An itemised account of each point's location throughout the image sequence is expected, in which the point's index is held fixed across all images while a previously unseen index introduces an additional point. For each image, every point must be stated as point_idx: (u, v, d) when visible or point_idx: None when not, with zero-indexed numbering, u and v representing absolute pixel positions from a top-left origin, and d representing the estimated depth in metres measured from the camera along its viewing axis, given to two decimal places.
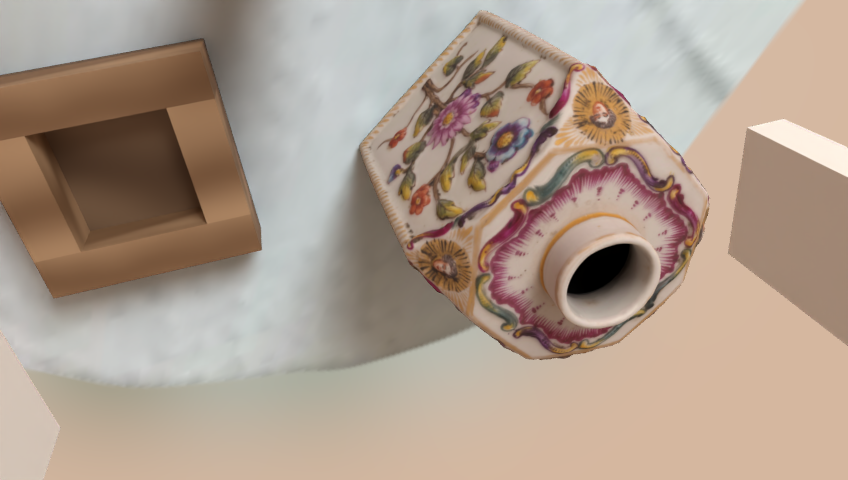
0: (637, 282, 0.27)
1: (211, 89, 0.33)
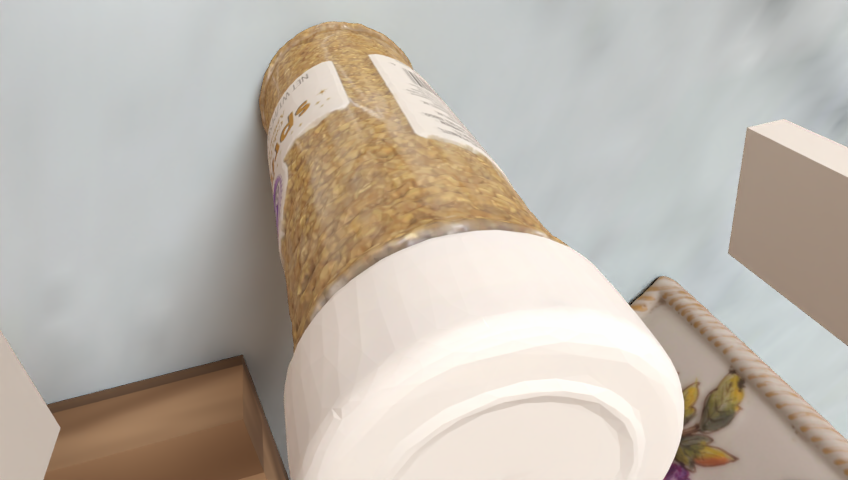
0: None
1: (259, 461, 0.20)
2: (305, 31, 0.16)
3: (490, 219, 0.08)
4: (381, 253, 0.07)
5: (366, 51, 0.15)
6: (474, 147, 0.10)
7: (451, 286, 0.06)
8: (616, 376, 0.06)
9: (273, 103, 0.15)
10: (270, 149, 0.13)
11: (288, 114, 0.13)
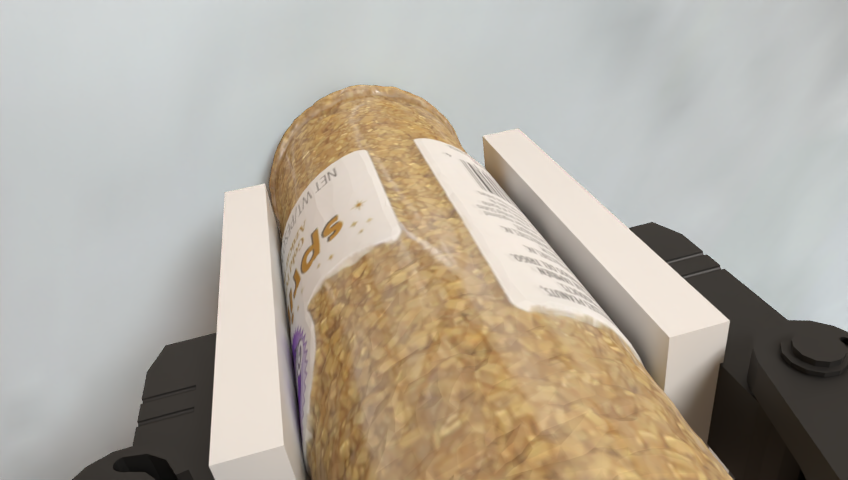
0: None
1: None
2: (327, 98, 0.13)
3: None
4: None
5: (409, 132, 0.11)
6: (594, 315, 0.07)
7: None
8: None
9: (288, 197, 0.12)
10: (286, 270, 0.10)
11: (311, 230, 0.09)
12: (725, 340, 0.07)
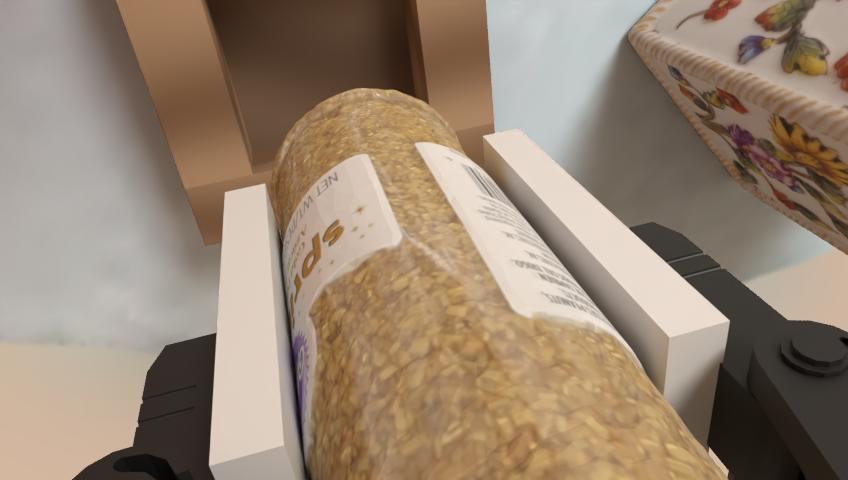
0: None
1: None
2: (328, 101, 0.13)
3: None
4: None
5: (410, 135, 0.11)
6: (595, 322, 0.07)
7: None
8: None
9: (289, 200, 0.12)
10: (287, 274, 0.10)
11: (313, 235, 0.09)
12: (725, 340, 0.07)
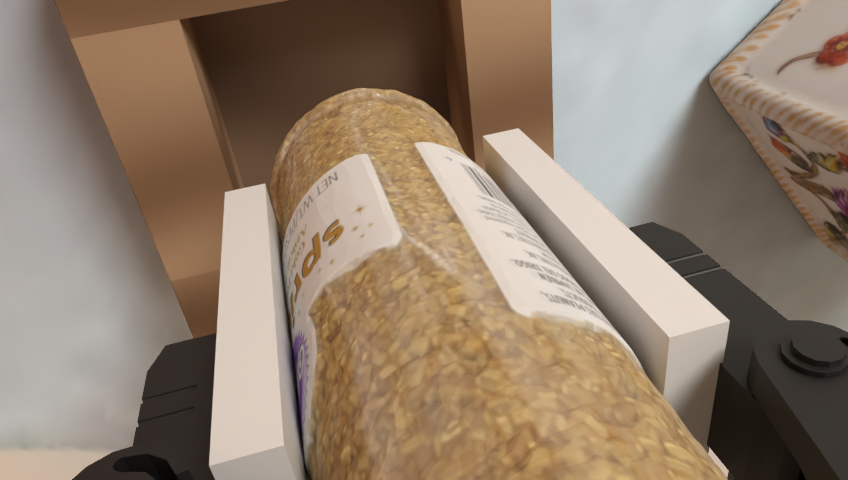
0: None
1: None
2: (328, 101, 0.13)
3: None
4: None
5: (410, 135, 0.11)
6: (594, 321, 0.07)
7: None
8: None
9: (289, 200, 0.12)
10: (287, 274, 0.10)
11: (312, 234, 0.09)
12: (725, 340, 0.07)
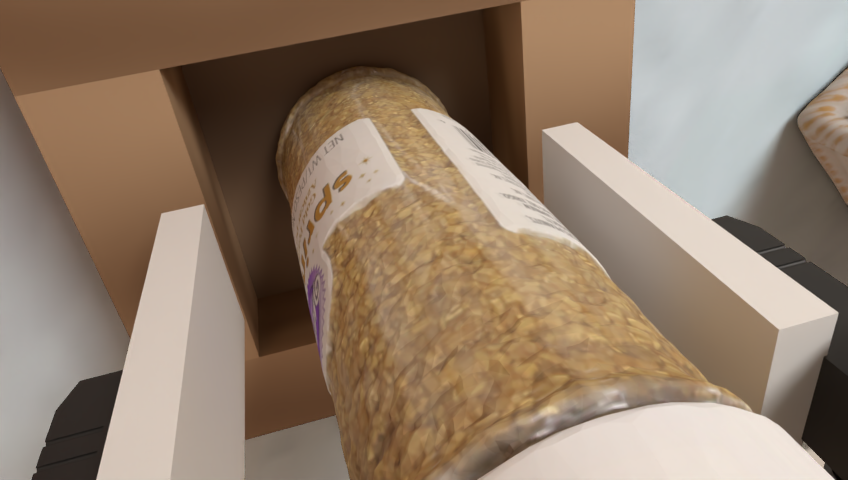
0: None
1: None
2: (329, 78, 0.14)
3: (645, 372, 0.06)
4: (507, 436, 0.05)
5: (406, 104, 0.13)
6: (571, 240, 0.08)
7: None
8: None
9: (297, 164, 0.13)
10: (299, 224, 0.11)
11: (323, 186, 0.11)
12: (832, 332, 0.07)
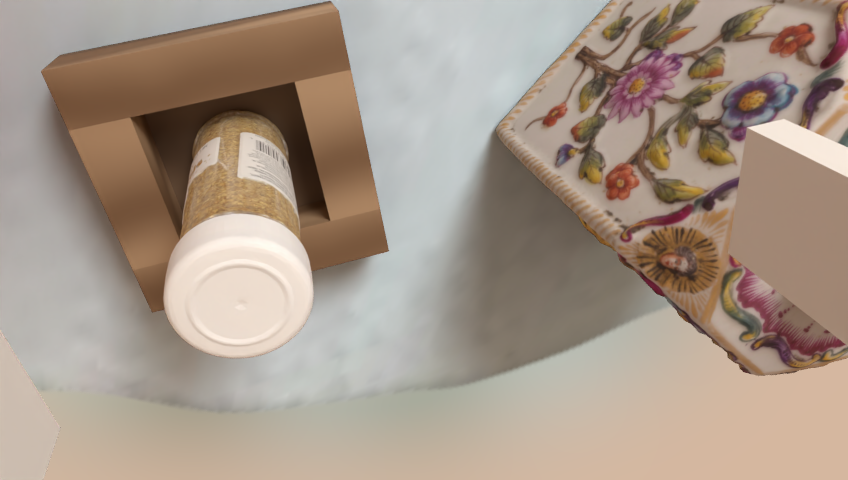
0: None
1: (347, 58, 0.28)
2: (216, 116, 0.29)
3: (246, 210, 0.21)
4: (201, 223, 0.20)
5: (242, 130, 0.27)
6: (266, 181, 0.23)
7: (213, 230, 0.19)
8: (268, 259, 0.19)
9: (194, 158, 0.28)
10: None
11: (194, 166, 0.26)
12: None
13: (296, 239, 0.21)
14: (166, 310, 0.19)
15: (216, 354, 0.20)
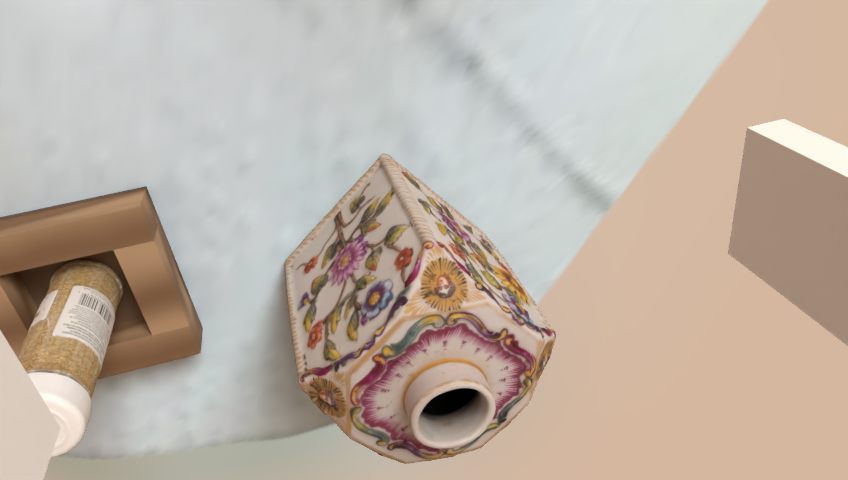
0: (480, 411, 0.34)
1: (150, 234, 0.40)
2: (64, 265, 0.41)
3: (45, 367, 0.33)
4: None
5: (76, 282, 0.40)
6: (72, 336, 0.35)
7: None
8: (49, 405, 0.31)
9: None
10: None
11: (36, 314, 0.38)
12: None
13: (76, 385, 0.33)
14: None
15: None
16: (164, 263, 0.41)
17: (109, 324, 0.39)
